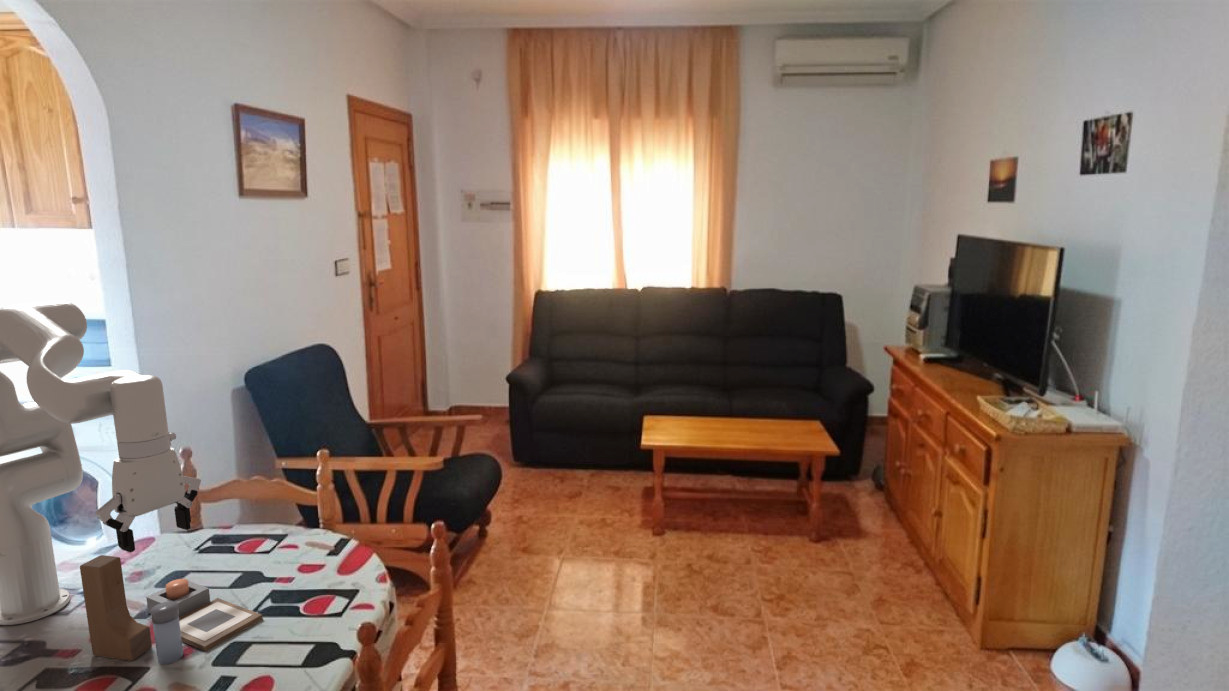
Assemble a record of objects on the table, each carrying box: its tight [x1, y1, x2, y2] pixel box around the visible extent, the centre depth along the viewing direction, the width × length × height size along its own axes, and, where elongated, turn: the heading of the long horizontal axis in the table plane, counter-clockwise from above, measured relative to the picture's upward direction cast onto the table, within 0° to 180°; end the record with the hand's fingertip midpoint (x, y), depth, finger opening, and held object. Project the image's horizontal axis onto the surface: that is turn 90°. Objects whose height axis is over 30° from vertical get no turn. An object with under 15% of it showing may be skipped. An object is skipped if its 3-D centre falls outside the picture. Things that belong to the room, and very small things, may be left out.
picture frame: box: [179, 597, 264, 652], centre depth 139 cm, size 14×12×1 cm
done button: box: [164, 578, 189, 600], centre depth 145 cm, size 4×4×2 cm
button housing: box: [146, 580, 211, 617], centre depth 145 cm, size 8×8×4 cm
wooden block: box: [79, 554, 153, 662], centre depth 129 cm, size 9×4×18 cm, turn 78°
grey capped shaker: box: [150, 601, 184, 665], centre depth 129 cm, size 4×4×10 cm
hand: (156, 538), depth 125 cm, fingers open, 9 cm apart
